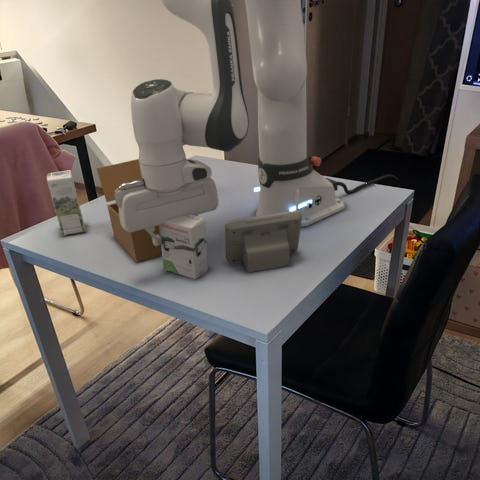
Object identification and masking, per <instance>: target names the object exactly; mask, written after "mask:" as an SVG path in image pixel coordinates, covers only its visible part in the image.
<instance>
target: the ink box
mask: <svg viewBox="0 0 480 480" xmlns="http://www.w3.org/2000/svg"><path fill="white" fill-rule="evenodd" d="M206 229H207V228H206V219H205V218H204V217H202V216H199V215H198V216H196V215H192V214H187V215H186V216H180V217H176V218H173V219H170V220H166V221H165V223H164V224H161V225H159V231H160V236H161V238H162V244H161V249H162V255H161V259H162V266H163V270H165V271H167V272H171V273H174V274H178V275H181V276H183V277H187V278H190V279H193V280H196V279H198V278H200V277H201V276H202V275H203V274H204V273H206V272H208V270H209V265H208V249H207V232H206Z"/></svg>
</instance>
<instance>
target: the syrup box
mask: <svg viewBox="0 0 480 480" xmlns="http://www.w3.org/2000/svg"><path fill="white" fill-rule="evenodd" d="M46 182H47V186H48V190H49V194H50V196H51V200H52V204H53V208H54V212H55V214H56V218H57V222H58V226H59V228H60V232H61V236H63V237H64V236H70V235H71V236H72V235H76V234H82V233H86V227H85V221H84V217H83V214H82V209H81V206H80V202H79V198H78V193H77V190H76V189H77V188H76V184H75V181H74V177H73V173H72V170H71V169H67V170H62V171H55V172H48V173H47V174H46Z"/></svg>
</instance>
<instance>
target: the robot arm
mask: <svg viewBox="0 0 480 480" xmlns="http://www.w3.org/2000/svg"><path fill="white" fill-rule="evenodd" d="M159 1H160V2H161V4H162V5H163V6H164V7H165V9H166V10H167V11H169V13H171V14H172V15H174V16H175V17H177V18H179V19H180V20H183V21H185V22H186V23H189V24H190V25H192V26H193V27H196V28H197V29H198V30H199V31H200V32H201V33H202V34H203V36H204V37H205V39H206V41H207V45H208V52H209V60H210V67H211V74H212V75H211V76H212V85H213V91H212V93H203V92H202V93H201V92H192V91H185V90H181V89H178V88H176V87H174V84H173V83H172V81H170V80H169V79H163V78H157V79H151V80H147V81H144V82H141V83H140V84H137V86H136V87H135V88H134V89H133V90H132V92H131V96H130V97H131V98H130V113H131V121H132V122H131V123H132V129H133V135H134V139H135V142H136V143H137V147H138V159H139V164H140V170H141V176H142V179H140V180H136V181H133V182H130V183H123V184H121V185H120V187H118V188H117V189H116V191H115V194H114V196H115V200H114V201H115V203H116V204H117V206H118V207H119V218H120V224H121V226H122V227H123V228H124V229H125V230H126V231H128V232H130V233H131V232H135V231H139V230H142V229H145V230H146V231H147V232H148V233H149V234H150V235H151V236H152V241H153V244H154V245H155V246H158V245H161V244H162V238H161V236H159V234H157V235H155V234H154V233H153V232H152V231H155V228H154V226H157V225H161V224H164V223H165V221H166V220H170V219H173V218H176V217H180V216H186V215H187V214H192V215H196V216H199V215H201V214H205V213H208V212H213V211H215V210H217V208H218V206H219V194H218V189H217V185H216V182H215V181H214V179H213V178H211V177H212V173H213V172H212V168H211V167H210V166H209V165H207V164H206V163H205V162H202V161H200V160H197V159H191V158H187V156H186V152H185V149H184V146H191V147H199V148H201V147H202V148H209V149H212V150H216V151H220V152H226V153H228V152H231V151H232V150H234V149H235V148H237V147H238V146H239V145H240V144H241V143H242V142H243V140H245V139H246V136H247V135H248V131H249V125H250V122H249V120H250V119H249V113H248V108H247V104H246V99H245V95H244V90H243V81H242V72H241V62H240V53H239V52H240V51H239V42H238V34H237V26H236V19H235V14H234V13H235V12H234V8H233V5H232V2H231V0H159ZM301 1H302V0H244V2H245V9H246V17H247V29H248V39H249V49H250V57H251V65H252V66H251V67H252V73H253V74H252V75H253V81H254V83H255V86H256V89H257V132H258V134H257V135H258V151H259V153H258V155H259V158H257V171H258V173H257V174H258V181H259V186H257V187H254V188H253V192H254V193H256V192H259V194H258V203H257V209H256V212H255V217H257V216H264V215H270V214H276V213H283V212H290V211H298V212H301V214H302V222H301V227H308V226H311V225H312V224H315V223H316V222H319V221H322V220H323V219H325V218H328V217H330V216H332V215H334V214H336V213H338V212H340V211H343V210H345V202H344V201H343V200H341V199H340V198H339V197H336V191H338V188H339V187H341V188H342V189H343V191H344V193H345V194H348V195H353V194H354V193H356V192H357V191H359V190H361V189H363V188H366V187H368V186H371V185H374V184H378V182H381V181H383V180H386V179H392V180H394V181H397V180H399V178H398V177H397V176H395V175H394V174H385V175H381V176H380V177H377V178H375V179H372V180H369V181H367V182H364V183H362V184H360V185H357V186H356V187H354V188H352V189H348V187H347V185H346V183H344V182H342V181H336V180H334V179H331V178H329V177H325V176H323V175H322V174H320V173H319V172H317V171H316V170H315V169H314V168H313V166H315V167H320V166H321V164H322V158H321V157H318V156H315V155H313V156H311V155H309V154H307V153H308V152H307V151H308V149H307V148H308V147H307V146H308V142H307V140H308V139H307V137H308V136H307V132H308V131H307V127H308V125H307V122H308V121H307V119H308V118H307V78H308V63H307V53H306V43H305V34H304V33H305V31H304V21H303V12H302V11H303V10H302V2H301ZM366 183H367V184H366ZM338 186H339V187H338ZM119 189H122V190H119Z"/></svg>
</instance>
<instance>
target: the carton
mask: <svg viewBox="0 0 480 480" xmlns="http://www.w3.org/2000/svg"><path fill="white" fill-rule="evenodd" d="M107 211H108V215H109V219H110V225H111V230H112V233H113V238H114V239H115V240H116V241H117V243H119V245H120V246H121V247H122V249H124V250H125V251H126V252H127V253H128V254H129V256H130V257H131V258H132V259H133V260H134V261H135V262H136V263H141V262H144V261H148V260H150V259H154V258H157V257H160V256H161V257H162V249H161V245H158V246H155V245H154V244H153V241H152V236H151V235H150V234H149V233H148V232H147V231H146V230H145V229H142V230H139V231H135V232H131V233H130V232H128V231H126V230H125V229H124V228H123V227H122V226H121V224H120V218H119V207H118V206H117V204H116V202H114V203H111V204H107ZM154 228H155V231H152V232H153V233H154V234H155V235H157V234H159V236H160V231H159V225H157V226H154Z"/></svg>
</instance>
